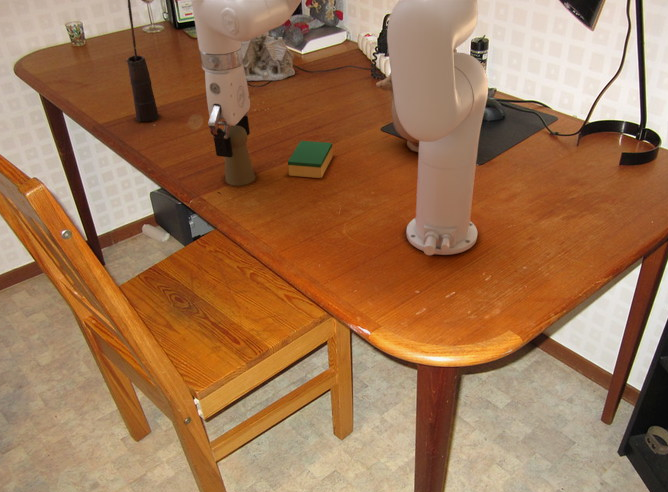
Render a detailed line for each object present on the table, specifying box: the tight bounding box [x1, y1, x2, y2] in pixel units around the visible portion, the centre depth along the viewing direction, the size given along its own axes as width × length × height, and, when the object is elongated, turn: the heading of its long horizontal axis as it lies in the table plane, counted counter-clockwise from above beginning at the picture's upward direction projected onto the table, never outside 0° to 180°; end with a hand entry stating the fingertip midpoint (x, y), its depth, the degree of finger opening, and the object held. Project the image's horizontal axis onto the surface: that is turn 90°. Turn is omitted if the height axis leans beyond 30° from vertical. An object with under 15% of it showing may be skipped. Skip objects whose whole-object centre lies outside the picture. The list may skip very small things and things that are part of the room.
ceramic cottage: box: [241, 31, 296, 82], centre depth 176 cm, size 16×16×15 cm
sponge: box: [287, 140, 334, 179], centre depth 136 cm, size 10×7×3 cm
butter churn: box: [124, 0, 160, 123], centre depth 147 cm, size 9×10×28 cm
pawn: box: [222, 125, 256, 187], centre depth 129 cm, size 6×6×11 cm
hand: (233, 144), depth 128 cm, fingers open, 9 cm apart
